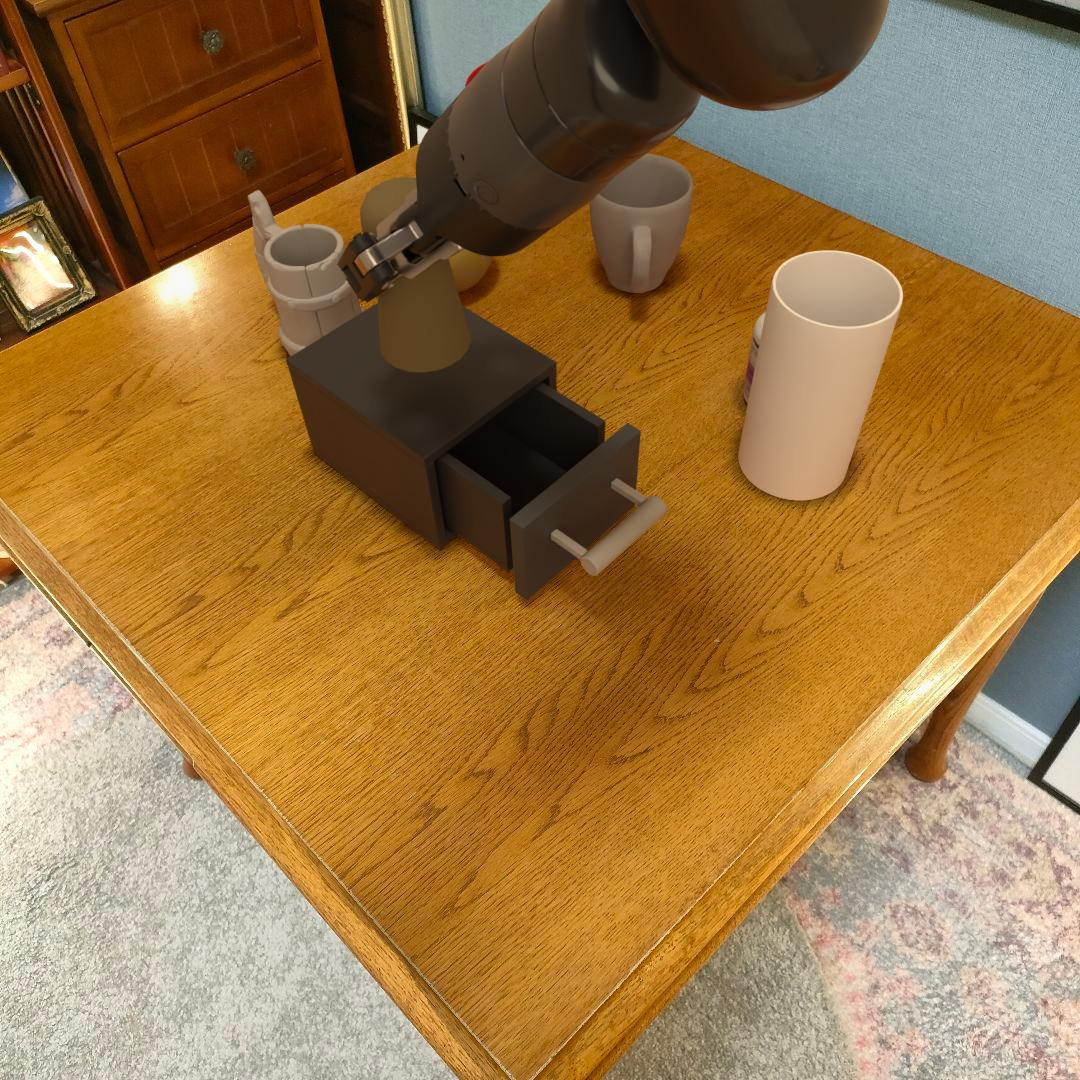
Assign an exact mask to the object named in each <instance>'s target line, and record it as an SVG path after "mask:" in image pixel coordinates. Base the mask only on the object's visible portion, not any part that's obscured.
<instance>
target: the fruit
mask: <svg viewBox="0 0 1080 1080" xmlns="http://www.w3.org/2000/svg"><path fill="white" fill-rule="evenodd" d="M493 259H494V257H493V256H484V255H479V254H476V253H473V252H470V251H468V250H466V249H463V250H462V251H460V252H459V253H457V254H455V255H454V256H452V257H450V258H449V262H450V265H451V269H452V273H453V276H454V280H455V283H456V287H457V290H458V293H461V292H464V291H466V290H469V289H470V288H472V287H474V286H475V285H477V284H478V283H479V281H481V280H482V278H483V277H484V276H485V274H486V272H487V271H488V269H489V267H490V266H491V263H492V261H493Z"/></svg>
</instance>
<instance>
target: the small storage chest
mask: <svg viewBox="0 0 1080 1080" xmlns="http://www.w3.org/2000/svg"><path fill="white" fill-rule="evenodd" d="M462 308H463V312H464V315H465V319H466V322H467V326H468V329H469V333H470V338H471V342H470V345H469V349H468V351H467V352H466V353H465V354H464V356H463V357H462V358H461V359H460V360H458V361H457V362H455V363H454V364H452V365H451V366H448V367H445V368H443V369H440V370H437V371H430V372H423V373H421V372H408V371H405V370H402V369H399V368H396V367H394V366H393V365H391V364H390V363H388V362H387V361H386V360H385V358H384V357H383V355H382V354H381V349H380V335H379V314H378V302H377V303H375V304H374V305H372V306H370V307H368V308H367V309H364V312H362V313H360V314H359V315H357V316H355V317H354V318H352V319H351V320H349V321H347V322H346V323H344V324H342V325H341V326H339V327H338V328H336V329H334V330H333V331H331V332H329V333H328V334H326V335H325V336H323V337H321V338H320V339H318V340H317V341H315V342H313V343H312V344H310V345H308V346H307V347H305V348H304V349H302V350H300V351H299V352H297V353H295V354H294V355H292V356H289V357H287V358H286V359H285V361H286V366H287V368H288V371H289V374H290V378H291V383H292V385H293V389H294V391H295V395H296V398H297V401H298V405H299V408H300V411H301V415H302V418H303V420H304V425H305V428H306V431H307V436H308V439H309V441H310V445H311V447H312V451H313V454H314V455H315V456H316V457H318V458H319V459H321V460H322V461H323V462H325V463H326V465H328V466H330V467H331V468H332V469H333V470H335V471H336V472H338V473H339V474H340V475H342V476H343V477H344V478H345V479H347V480H348V481H349V482H350V483H352V484H353V485H354V486H356V487H357V488H358V489H359V490H360V491H362V492H364V493H365V494H366V495H367V496H369V498H371V499H372V500H374V501H375V502H376V503H378V504H379V506H381V507H383V508H384V509H385V510H387V511H388V512H389V513H391V514H392V515H393V516H395V518H397V519H398V520H399V521H401V522H402V523H403V524H404V525H406V526H407V527H409V528H410V529H411V530H413V531H414V532H415V533H416V534H417V535H419V536H420V537H422V538H423V539H424V540H425V541H426V542H428V543H429V544H430V545H432V546H433V547H434V548H435V549H437V550H438V551H441V550H442V549H443V550H444V548H445V547H446V546H448V545H449V544H450V543H452V542H453V541H454V540H455V539H456V538H458V537H460V536H459V535H458V534H456V533H455V532H454V531H452V530H451V529H450V528H448V527H447V526H446V525H445V524H444V519H443V513H442V507H441V501H440V495H439V489H438V482H437V476H436V470H435V464H434V460H436V459H437V458H438V457H440V456H441V455H442V454H444V453H445V452H447V451H448V450H449V449H451V448H452V447H453V446H455V445H456V444H457V443H459V442H460V441H461V440H463V439H464V438H465V437H467V436H468V435H470V434H471V433H472V432H474V431H475V430H476V429H478V428H479V427H480V426H482V425H483V424H484V423H486V422H487V421H488V420H490V419H491V418H493V417H494V416H495V415H497V414H498V413H499V412H501V411H502V410H503V409H505V408H506V407H507V406H509V405H510V404H511V403H513V402H514V401H516V400H517V399H518V398H520V397H521V396H522V395H524V394H525V393H526V392H528V391H529V390H530V389H532V388H533V387H534V386H536V385H537V384H539V383H540V382H543V383H545V384H546V385H548V386H549V387H551V388H553V389H554V390H556V391H558V381H557V380H558V379H557V378H558V377H557V376H558V375H557V374H558V373H557V372H558V371H557V361H556V360H554V359H552V358H551V357H549V356H548V355H546V354H544V353H542V352H541V351H539V350H537V349H535V348H534V347H533V346H531V345H529V344H527V343H526V342H524V341H522V340H520V339H519V338H518V337H516V336H514V335H512V334H511V333H509V332H508V331H506V330H504V329H502V328H500V327H499V326H497V325H496V324H494V323H492V322H491V321H489V320H487V319H486V318H484V317H482V316H480V315H478V314H477V313H475V312H474V311H473V310H471V309H469V308H467V307H465V306H463V305H462Z"/></svg>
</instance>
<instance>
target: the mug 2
mask: <svg viewBox="0 0 1080 1080" xmlns="http://www.w3.org/2000/svg"><path fill="white" fill-rule="evenodd" d="M693 195H694V179H693V177H692V175H691V172H689V171H688V169H687V168H686V167H685V166H684V165H683V164H681V163H680V162H678V161H676V160H674V159H671V158H669V157H666V156H662V155H658V154H653V153H646V154H645V155H644V156H642V157H641V158H640V159H638V160H637V161H635V162H634V163H633V164H631V165H630V166H628V167H627V168H626V169H624V170H623V171H622V172H620V173H619V174H618V175H617V176H616V177H614V178H613V180H612V181H611V182H610V183H609V184H608V185H607V186H606V187H605V188H604V189H603V190H602V191H601V192H600V193H599V194H598V195H597V196H596V197H595V198H594V199H592V200H591V201H590V202H589V217H590V218H589V219H590V226H591V227H590V228H591V234H592V238H593V242H594V247H595V250H596V253H597V255H598V258H599V260H600V263H601V265H602V267H603V268H604V271H605V274H606V278H607V280H608V283H610V284H611V286H613V287H614V288H615V289H616V290H617V289H618V290H620V291H622V292H626V293H634V294H644V293H647V292H650V291H653V290H655V289H656V288H658V287H660V285H661V284H662V283H663V282H664V280H665V277H666V275H667V273H668V271H669V270H670V268H671V267H672V265H673V263H674V262H675V260H676V258H677V256H678V254H679V252H680V250H681V246H682V245H683V241H684V238H685V235H686V232H687V228H688V224H689V220H690V215H691V208H692V202H693Z"/></svg>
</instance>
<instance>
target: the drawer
mask: <svg viewBox="0 0 1080 1080" xmlns="http://www.w3.org/2000/svg"><path fill="white" fill-rule="evenodd" d="M641 434H642V431H641V430H640V429H638V428H637V427H635V426H633V425H632V424H631V423H629V422H627V423H625V424H624V425H622V427H620V428H619V429H618V430H617V431H615V432H614V433H613V434H612V435H610V437H608V438H607V439H606V420H605V419H604V418H601V417H600V416H599V415H596V414H595V413H594V412H592V411H590V410H589V409H587V408H585V407H583V406H582V405H581V404H579V403H577V402H576V401H574V400H572V399H571V398H569V397H568V396H566V395H564V394H562V393H561V392H559V391H558V390H557V391H556V390H554V389H553V388H551V387H549V386H548V385H546V384H545V383H543V382H540V383H539V384H537V385H536V386H534V387H533V388H532V389H530V390H529V391H528V392H526V393H525V394H524V395H522V396H521V397H520V398H518V399H517V400H516V401H514V402H513V403H511V404H510V405H509V406H507V407H506V408H505V409H503V410H502V411H501V412H499V413H498V414H497V415H495V416H494V417H493V418H491V419H490V420H488V421H487V422H486V423H484V424H483V425H482V426H480V427H479V428H478V429H476V430H475V431H474V432H472V433H471V434H470V435H468V436H467V437H465V438H464V439H463V440H461V441H460V442H459V443H457V444H456V445H455V446H453V447H452V448H451V449H449V450H448V451H447V452H445V453H444V454H442V455H441V456H440V457H438V458H437V459H436V460H434V464H435V470H436V476H437V482H438V489H439V495H440V501H441V507H442V513H443V519H444V524H445V525H446V526H447V527H448V528H450V529H451V530H452V531H454V532H455V533H456V534H458V535H459V536H458V537H460V538H461V539H463V540H464V541H466V542H467V543H468V544H470V545H471V546H472V547H474V548H475V549H476V550H477V551H479V552H480V553H482V554H483V555H484V556H485V557H487V558H488V559H489V560H491V561H492V562H493V563H495V564H496V565H498V566H499V567H500V568H502V569H503V570H504V571H505V572H507V573H510V571H512V570H513V580H514V581H513V582H514V592H515V593H516V594H517V595H519V597H521V598H522V599H524V600H525V601H527V602H528V601H530V600H531V599H532V598H533V597H534V596H535V595H536V594H537V593H539V592H540V591H541V590H542V589H544V588H545V586H547V585H548V584H549V583H550V582H551V581H552V580H554V578H556V577H557V576H558V575H559V574H560V573H561V572H562V571H564V570H565V569H566V568H567V567H568V566H569V565H571V563H573V562H574V561H575V560H576V559H578V560H579V561H580V565H581V567H582V568H583V570H584V571H585V572H586V573H587V574H588V575H590V576H592V577H597V576H598V575H599V574H600V573H602V572H603V571H604V570H606V568H607V567H608V566H609V565H611V563H613V562H614V561H615V560H616V559H617V558H618V557H619V556H620V555H621V554H623V553H624V552H625V551H627V549H628V548H629V547H631V545H633V544H634V543H635V542H636V541H637V540H638V539H639V538H641V536H643V535H644V533H646V532H648V530H649V529H650V528H651V527H652V526H653V525H655V524H656V523H657V522H658V521H660V519H661V518H662V517H664V516H665V515H666V514H667V512H668V508H667V505H666V503H665V501H664V500H663V499H662V498H660V497H659V496H658V495H651V496H649V497H648V496H645V495H644V494H642V493H641V492H640V491H638V490H637V484H638V473H639V460H640V446H641ZM635 506H637V508H636V509H634V508H635ZM633 509H634V511H632V510H633ZM630 511H632V512H631V513H630ZM629 513H630V514H629ZM627 514H629V515H628V516H627V517H626V518H624V517H625V516H626V515H627ZM623 518H624V519H623ZM622 519H623V520H622ZM620 520H622V521H620ZM619 521H620V523H619V524H618V525H616V524H617V523H618V522H619ZM615 525H616V526H615ZM613 526H615V527H614V528H613V529H612V527H613ZM610 529H612V530H611V531H609V530H610ZM608 531H609V533H607V532H608ZM606 533H607V534H606ZM605 534H606V536H604V537H603V538H602V539H601V540H600V541H598V540H599V539H600V538H601V537H602V536H603V535H605ZM596 541H598V542H597V543H596ZM594 543H596V544H595V545H594V546H593V547H592V548H591V549H590V550H588V549H589V548H590V547H591V546H592V545H593V544H594Z"/></svg>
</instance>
